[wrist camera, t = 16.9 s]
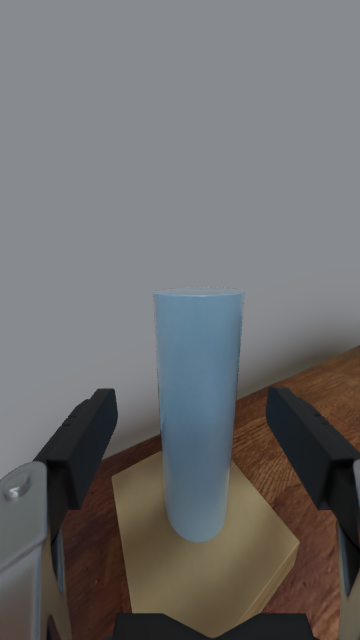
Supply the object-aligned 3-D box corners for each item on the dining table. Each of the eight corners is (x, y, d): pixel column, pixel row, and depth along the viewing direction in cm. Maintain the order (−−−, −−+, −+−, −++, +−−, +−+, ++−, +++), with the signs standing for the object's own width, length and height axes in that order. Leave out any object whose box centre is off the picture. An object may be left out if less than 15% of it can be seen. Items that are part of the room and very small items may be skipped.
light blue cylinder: (218, 564, 12) (236, 297, 8) (151, 515, 15) (133, 293, 10) (233, 480, 17) (249, 288, 13) (181, 454, 20) (178, 286, 15)
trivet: (294, 565, 14) (299, 541, 13) (155, 763, 8) (152, 740, 8) (204, 444, 24) (204, 426, 23) (114, 497, 19) (111, 476, 18)
